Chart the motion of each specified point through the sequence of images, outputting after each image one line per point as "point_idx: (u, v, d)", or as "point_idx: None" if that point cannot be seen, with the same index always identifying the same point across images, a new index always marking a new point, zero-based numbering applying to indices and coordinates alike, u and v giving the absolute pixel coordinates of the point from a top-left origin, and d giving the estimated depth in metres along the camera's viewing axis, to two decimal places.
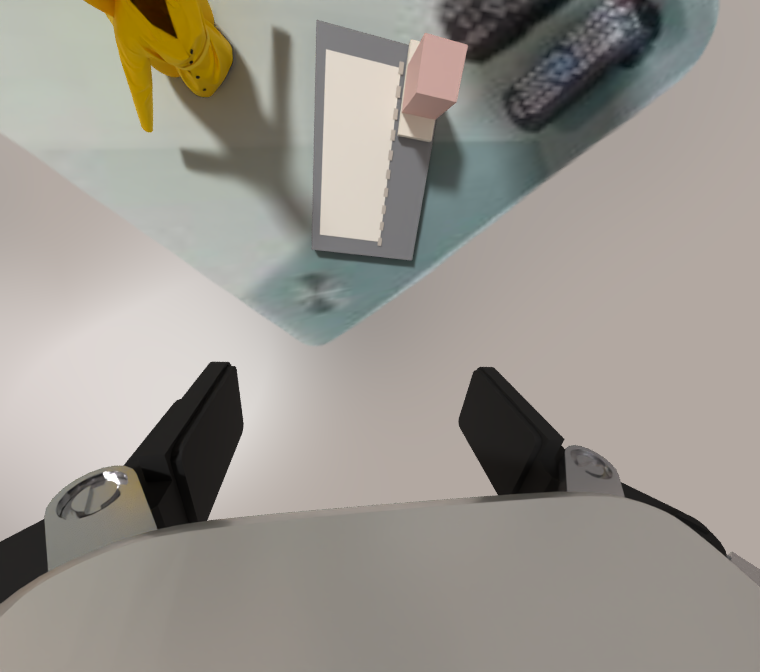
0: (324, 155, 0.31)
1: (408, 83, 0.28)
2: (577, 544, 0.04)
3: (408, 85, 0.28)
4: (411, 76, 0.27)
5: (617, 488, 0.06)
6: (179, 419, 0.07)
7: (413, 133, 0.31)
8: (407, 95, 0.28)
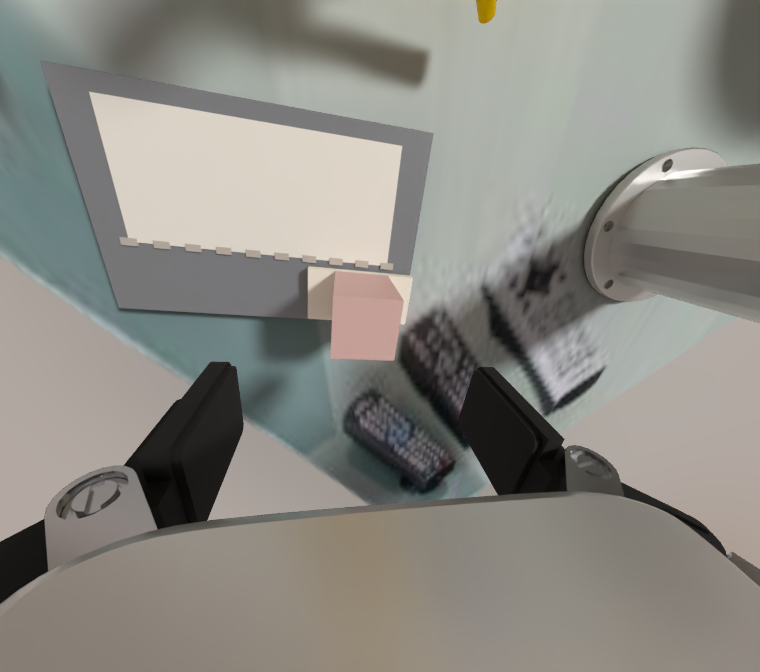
0: (256, 125, 0.17)
1: (363, 278, 0.19)
2: (577, 544, 0.04)
3: (360, 279, 0.19)
4: (367, 283, 0.18)
5: (617, 488, 0.06)
6: (179, 419, 0.07)
7: (312, 291, 0.20)
8: (348, 278, 0.18)
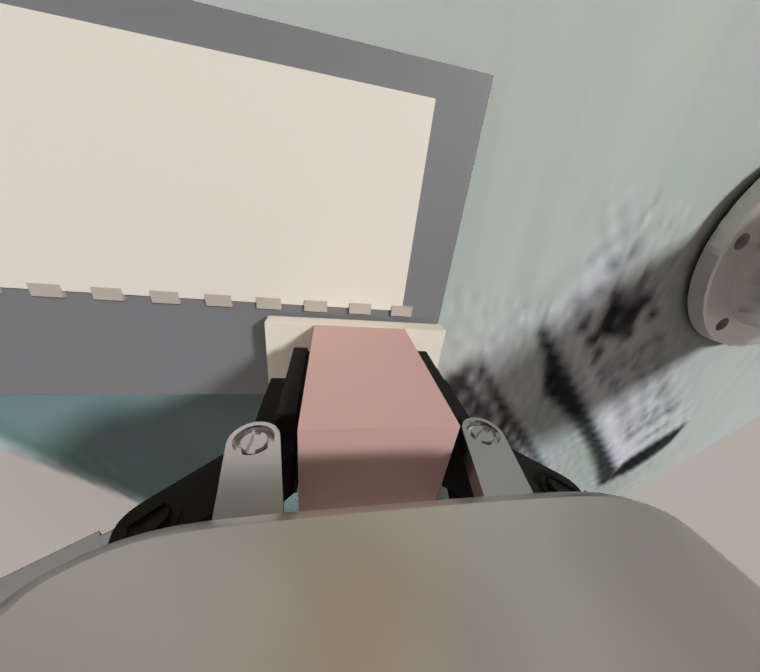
0: (138, 44, 0.08)
1: (364, 345, 0.10)
2: (577, 544, 0.04)
3: (359, 346, 0.10)
4: (373, 358, 0.09)
5: (507, 448, 0.07)
6: (292, 389, 0.08)
7: (275, 358, 0.12)
8: (336, 347, 0.10)
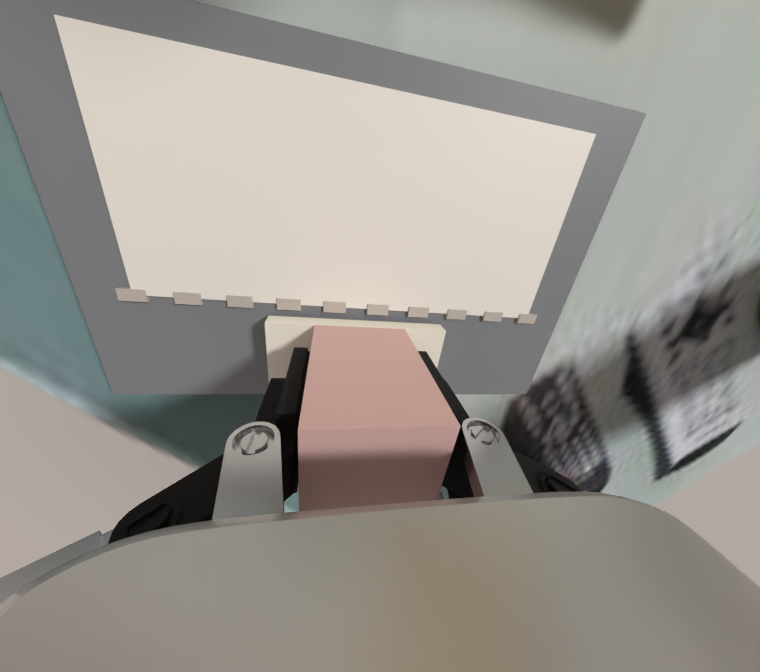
0: (369, 93, 0.09)
1: (364, 345, 0.10)
2: (577, 544, 0.04)
3: (359, 346, 0.10)
4: (373, 359, 0.09)
5: (507, 448, 0.07)
6: (292, 389, 0.08)
7: (275, 358, 0.12)
8: (337, 347, 0.10)
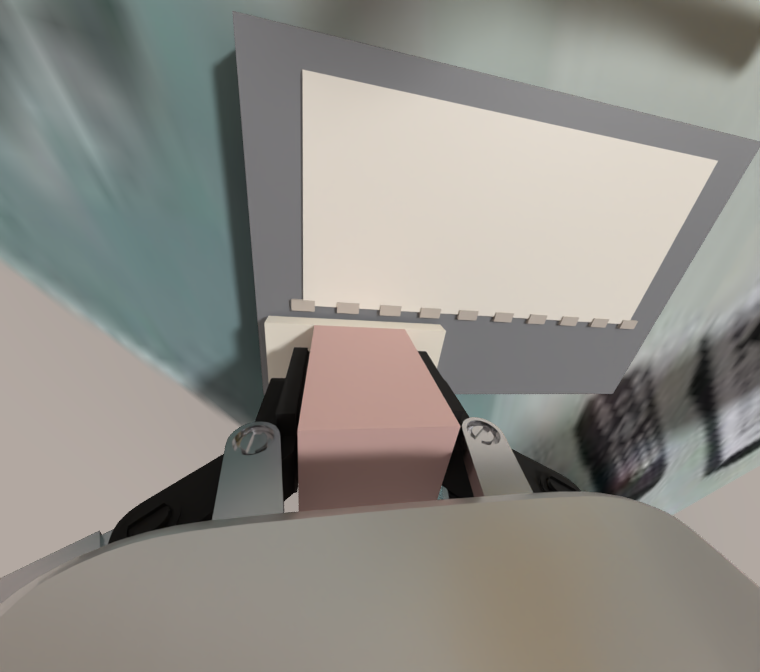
0: (537, 129, 0.10)
1: (364, 345, 0.10)
2: (577, 544, 0.04)
3: (359, 346, 0.10)
4: (373, 359, 0.09)
5: (507, 448, 0.07)
6: (292, 389, 0.08)
7: (274, 358, 0.12)
8: (336, 347, 0.10)
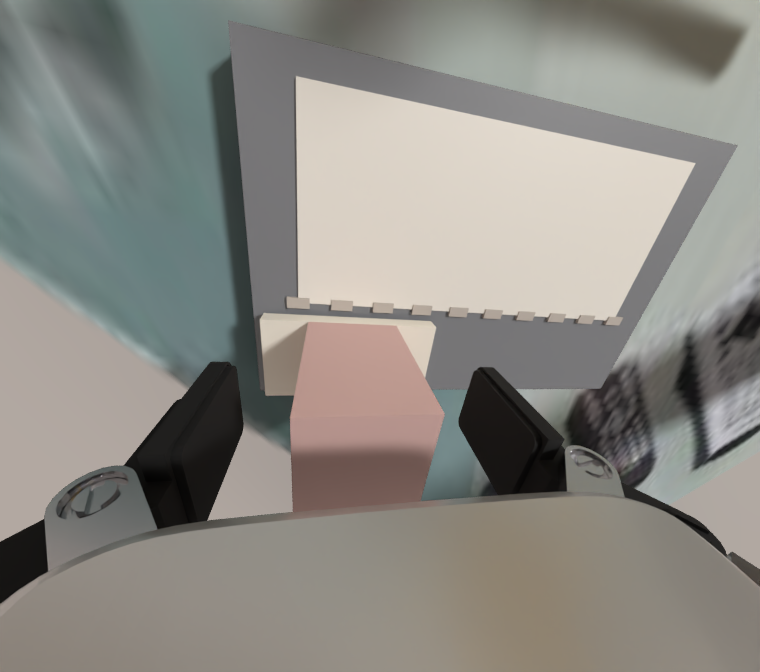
0: (522, 133, 0.11)
1: (356, 340, 0.11)
2: (577, 544, 0.04)
3: (351, 341, 0.11)
4: (364, 353, 0.10)
5: (617, 488, 0.06)
6: (179, 419, 0.07)
7: (270, 354, 0.12)
8: (329, 343, 0.10)
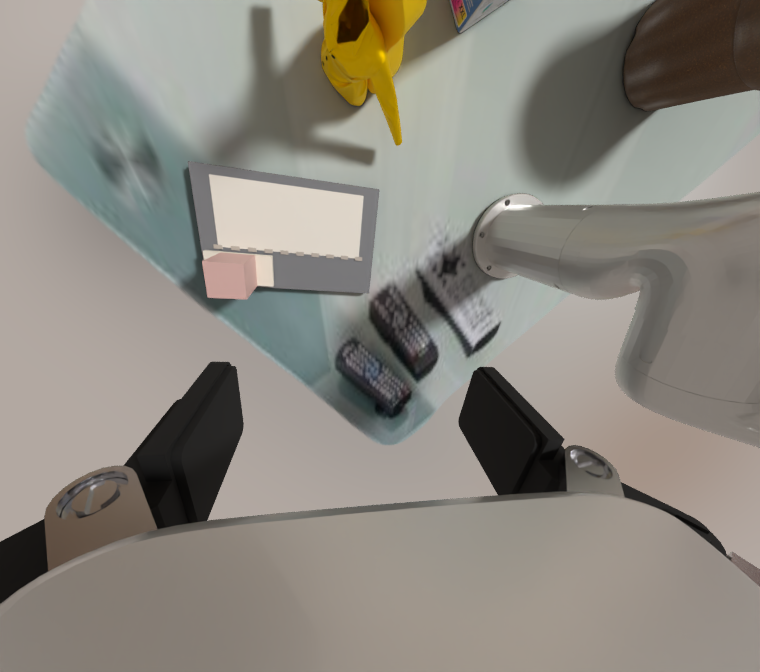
0: (289, 187, 0.33)
1: (234, 256, 0.32)
2: (577, 544, 0.04)
3: (232, 256, 0.32)
4: (233, 257, 0.32)
5: (617, 488, 0.06)
6: (179, 419, 0.07)
7: None
8: (223, 255, 0.32)
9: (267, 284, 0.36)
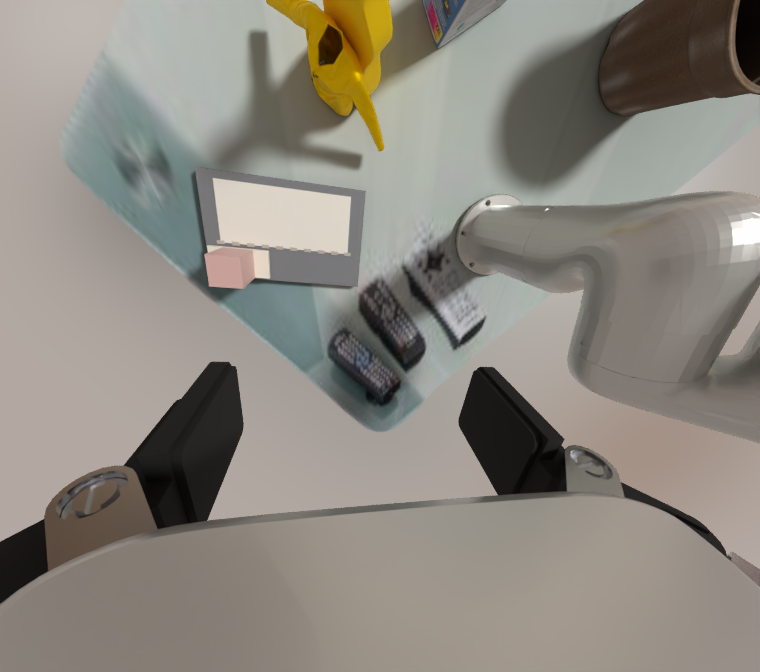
0: (283, 189, 0.37)
1: (233, 250, 0.37)
2: (577, 544, 0.04)
3: (232, 250, 0.36)
4: (233, 251, 0.36)
5: (617, 488, 0.06)
6: (179, 419, 0.07)
7: None
8: (224, 250, 0.36)
9: (264, 276, 0.40)
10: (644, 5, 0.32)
